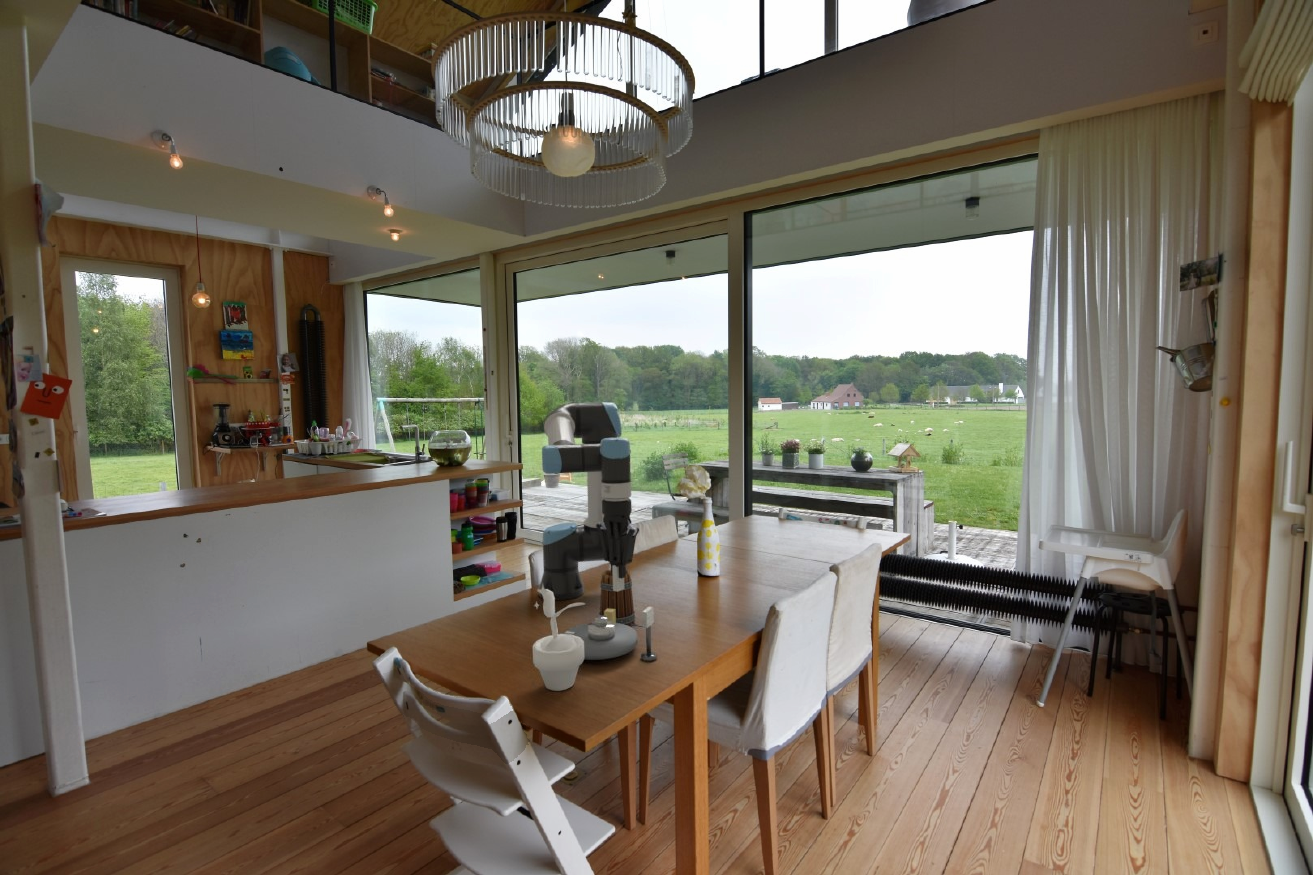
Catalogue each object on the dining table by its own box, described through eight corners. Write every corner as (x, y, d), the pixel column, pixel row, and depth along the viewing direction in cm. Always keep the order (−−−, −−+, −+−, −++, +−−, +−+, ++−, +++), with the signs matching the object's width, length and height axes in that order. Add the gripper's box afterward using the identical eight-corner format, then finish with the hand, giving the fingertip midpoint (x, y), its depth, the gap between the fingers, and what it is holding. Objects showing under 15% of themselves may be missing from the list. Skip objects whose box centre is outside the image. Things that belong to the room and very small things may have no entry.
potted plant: (523, 693, 137) (519, 583, 135) (550, 671, 147) (547, 569, 146) (573, 701, 132) (570, 588, 131) (597, 678, 143) (594, 573, 141)
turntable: (579, 626, 172) (578, 605, 171) (647, 632, 166) (646, 610, 165) (546, 655, 152) (545, 631, 152) (621, 663, 147) (621, 639, 146)
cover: (594, 629, 163) (594, 611, 163) (619, 632, 161) (618, 613, 161) (583, 639, 157) (583, 620, 156) (608, 642, 154) (608, 623, 154)
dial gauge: (659, 656, 155) (658, 607, 154) (652, 662, 151) (651, 612, 150) (635, 652, 157) (634, 604, 157) (628, 658, 154) (627, 609, 153)
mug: (630, 630, 173) (629, 578, 172) (594, 628, 175) (593, 576, 174) (642, 611, 188) (641, 563, 187) (609, 609, 190) (608, 562, 189)
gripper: (587, 498, 157) (590, 588, 158) (625, 502, 148) (628, 598, 150) (607, 494, 162) (610, 581, 164) (645, 498, 154) (647, 590, 156)
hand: (618, 589), depth 157 cm, fingers closed
